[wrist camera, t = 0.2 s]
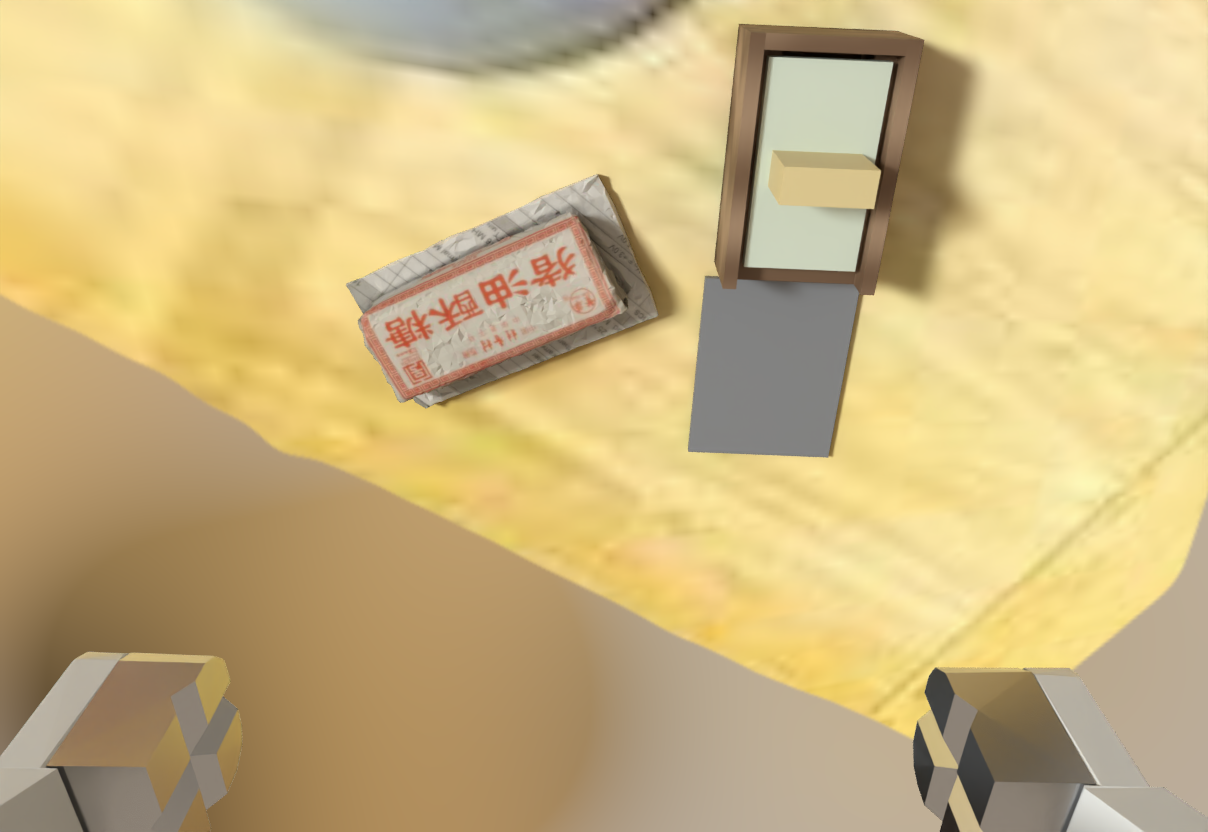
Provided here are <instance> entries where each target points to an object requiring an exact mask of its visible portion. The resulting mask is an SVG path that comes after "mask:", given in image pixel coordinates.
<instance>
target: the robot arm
mask: <svg viewBox="0 0 1208 832" xmlns="http://www.w3.org/2000/svg"><path fill="white" fill-rule="evenodd" d="M229 683H230V677H229V674H228V671H227V668H226V665H225V661H224V659H221V658H218V657H216V656H199V655H174V654H149V653H130V654H126V653H102V652H87V653H85V654H83V655H81V656H80V657H78V658H76V659H75V660H74V661H73V662H72V663H71V664H70V665H69V667H68V668H67V669H66V671H65V672H64V673H63V675H62V676H61V677H60V679H59V680H58V681H57V683H56V684H55V685H54V687H53V688H52V689H51V691H50V692H49V693H48V694H47V696H46V697H45V698H44V700H43V701H42V702H41V704H40V705H39V706H38V708H37V709H36V711H35V712H34V713H33V714H32V715H31V717H30V718H29V720H28V721H27V722H26V723H25V725H24V726H23V727H22V729H21V730H20V731H19V733H18V734H17V735H16V737H15V738H14V739H13V741H12V742H11V743H10V744H9V746H8V747H7V748H6V750H5V751H4V753H3V754H2V755H1V756H0V832H210V830H211V825H210V822H209V819H208V815H207V812H206V810H207V809H208V808H209V807H210V806H212V805H213V804H214V803H215V802H217V801H218V800H219V799H221V798H222V797H223V796H224V795H226V794H227V793H228V790H229V788H230V786H231V783H232V781H233V779H234V776H235V774H236V772H237V768H238V763H239V758H240V752H241V748H242V724H241V720H240V716H239V711H238V709H237V708H236V707H235V706H234V705H232V704H231V703H230V702H229V701H228V700H227V699H225V698H224V697H223V695H224V693H225V691H226V689H227V687H228V685H229ZM925 695H926V697H927V700H928V702H929V705H930V707H931V710H930V711H928V712H927V713H926V714H925V715H924V716H922V717H921V718H920V719H919V720H918V721H917V725H916V730H915V735H914V740H913V758H914V770H915V775H916V779H917V785H918V788H919V791H920V794H921V797H922V800H923V803H924V805H925V806H926V807H927V808H928V809H929V810H930V811H931V812H933V813H934V814H935V815H936V816H937V817H938V818H939V819H940V820H942V825H941V829H940V832H1208V817H1206V816H1205V815H1203V814H1202V813H1200V812H1199V811H1197V810H1196V809H1195V808H1193V807H1192V806H1190V805H1189V804H1187V803H1186V802H1184V801H1183V800H1182V799H1180V798H1179V797H1177V796H1176V795H1174V794H1173V793H1172V792H1170V791H1169V790H1167V789H1166V788H1164V787H1150V786H1149V784H1148V783H1147V781H1146V780H1145V778H1144V777H1143V775H1142V773H1141V772H1140V770H1139V769H1138V767H1137V766H1136V764H1135V762H1134V761H1133V759H1132V758H1131V756H1130V755H1129V753H1128V752H1127V750H1126V748H1125V747H1124V745H1123V744H1122V742H1121V740H1120V739H1119V737H1118V736H1117V735H1116V733H1115V731H1114V730H1113V728H1112V726H1111V725H1110V723H1109V722H1108V720H1107V719H1106V717H1105V715H1104V714H1103V713H1102V711H1101V709H1100V708H1099V706H1098V705H1097V703H1096V702H1095V700H1094V698H1093V697H1092V695H1091V694H1090V692H1089V690H1088V689H1087V687H1086V686H1085V684H1084V683H1083V681H1082V680H1081V678H1080V677H1079V675H1078V674H1077V673H1075V672H1074V671H1073V670H1071V669H1070V668H1023V669H1020V668H950V667H935V669H934V670H933V671H932V673H931V674H930V675H929V678H928V681H927V685H926V689H925Z"/></svg>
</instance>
